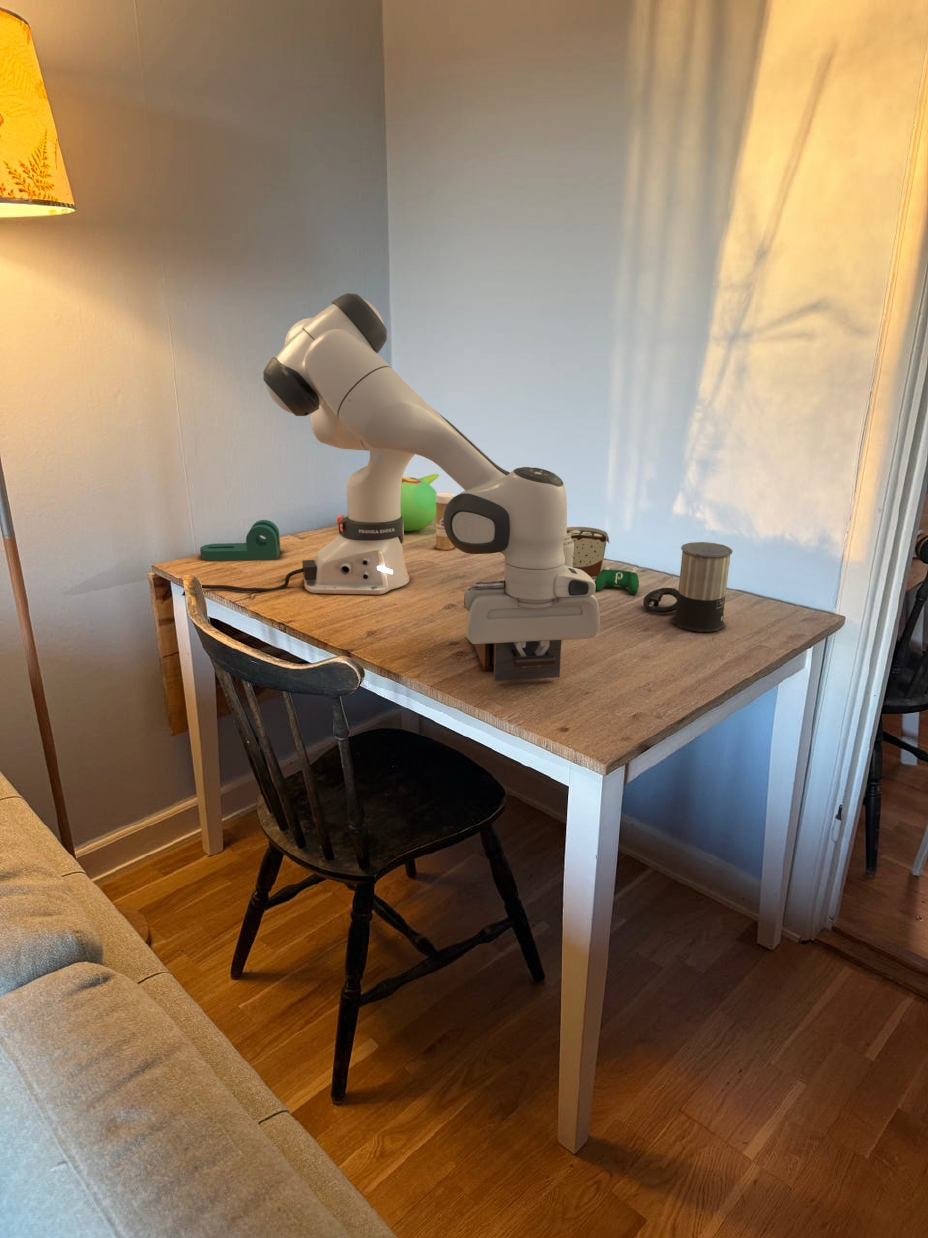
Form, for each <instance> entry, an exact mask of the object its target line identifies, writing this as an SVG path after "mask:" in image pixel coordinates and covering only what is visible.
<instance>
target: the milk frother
mask: <svg viewBox="0 0 928 1238" xmlns="http://www.w3.org/2000/svg"><path fill="white" fill-rule="evenodd" d="M680 550H681V551H682V552H681V560H680V561H681V562H680V572H679V582H678V589H676V588H673V587H661V588H656V589H654V590H652V591H650V592H648V593H647V594H646V595H645V596H644V598H643V606H644V608H645V609H647V610H648V611H650V612H654V613H659V614H668V613H672V612H675V615H674V617H673V618H672V619H673V620H672V621H673V623H674V624H675V625H676V626H677V627H679V628H680V629H685V630H687V631H690V632H691V631H693V632H699V633H700V632H701V633H711V632H717V631H720V630H721V629H723V627H724V626H725V623H724V617H725V614H724V613H725V605H726V604H725V603H726V594H727V585H728V578H729V570H730V563H731V555H732V554H733V549H732V548H731V547H729V546H727V545H724V544H721V543H715V542H709V541H707V542H706V541H696V542H695V541H693V542H688V543H684V544H682V545H681V546H680ZM667 595H668V596H672V597H673V598H675V600H676V602H674V603H673V604H671V605H669V606H659V605H660V602H661V601H662V598H663V596H667Z"/></svg>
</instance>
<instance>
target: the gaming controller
mask: <svg viewBox="0 0 928 1238" xmlns="http://www.w3.org/2000/svg"><path fill="white" fill-rule="evenodd" d="M639 579H640V578H639V575H638V572H637V571H636V569H635V568H630V569H629V571H628V570H620V569H610V567H609V566H608V565H605V566H604V567H602V570H601V572H600V574H599V575H598V576H597V578H595V580H594V583H595V585H596V589H595V592H596V591H601V590H602V589H603V588H605V587H606V586H607V587H608V588H609V587H610V588H613V587H618V588H622V589H628V591H629V593H630V595H637V594H638V592H639V586H640V580H639Z"/></svg>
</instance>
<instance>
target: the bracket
mask: <svg viewBox="0 0 928 1238" xmlns="http://www.w3.org/2000/svg"><path fill="white" fill-rule="evenodd" d="M261 536H262V537H264V538H262V537H261ZM199 552H200V558H201V560H203V561H209V562H217V561H218V562H219V561H220V562H223V561H226V562H228V561H229V562H230V561H273V560H274V561H277V560H278V558H279V556H280V554H281V537H280V530H279V528H278V526H277V525H276V524H275V523H274V522H273V521H271V520H268V519H260V520H258V521H256V522H254V523H253V525H252V526H251V528H250V529H249V531H248V533H247V534H246V537H245V542H240V543H239V542H228V543H227V542H224V543H209V544H205V545H202V546H200V548H199Z"/></svg>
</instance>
